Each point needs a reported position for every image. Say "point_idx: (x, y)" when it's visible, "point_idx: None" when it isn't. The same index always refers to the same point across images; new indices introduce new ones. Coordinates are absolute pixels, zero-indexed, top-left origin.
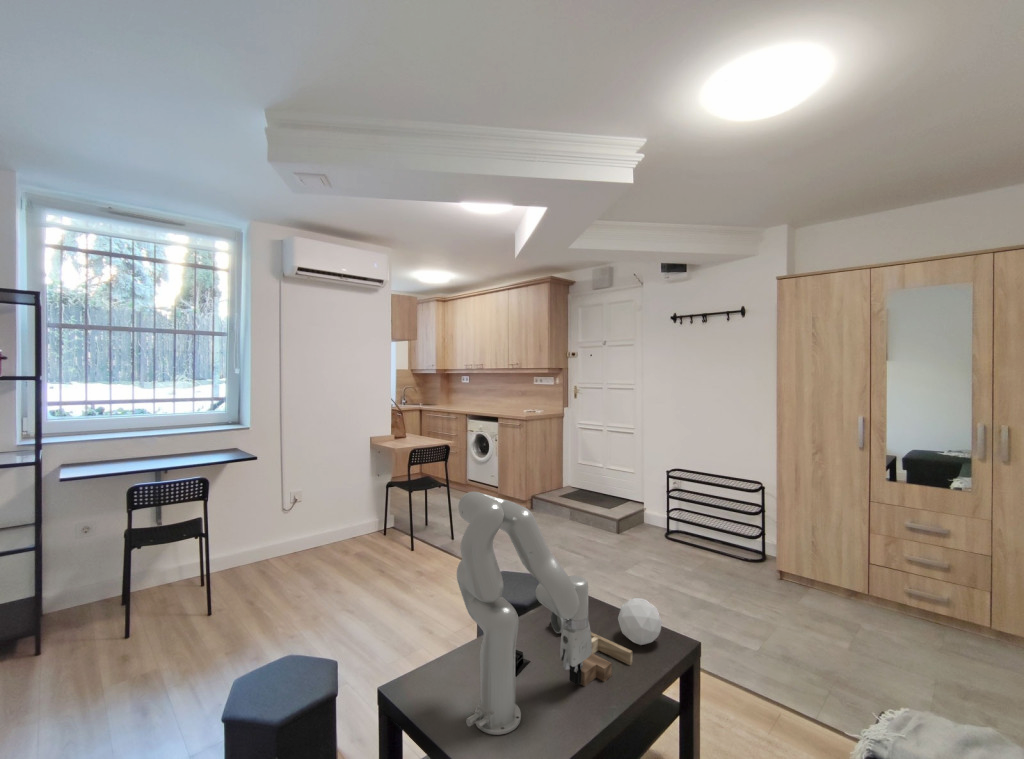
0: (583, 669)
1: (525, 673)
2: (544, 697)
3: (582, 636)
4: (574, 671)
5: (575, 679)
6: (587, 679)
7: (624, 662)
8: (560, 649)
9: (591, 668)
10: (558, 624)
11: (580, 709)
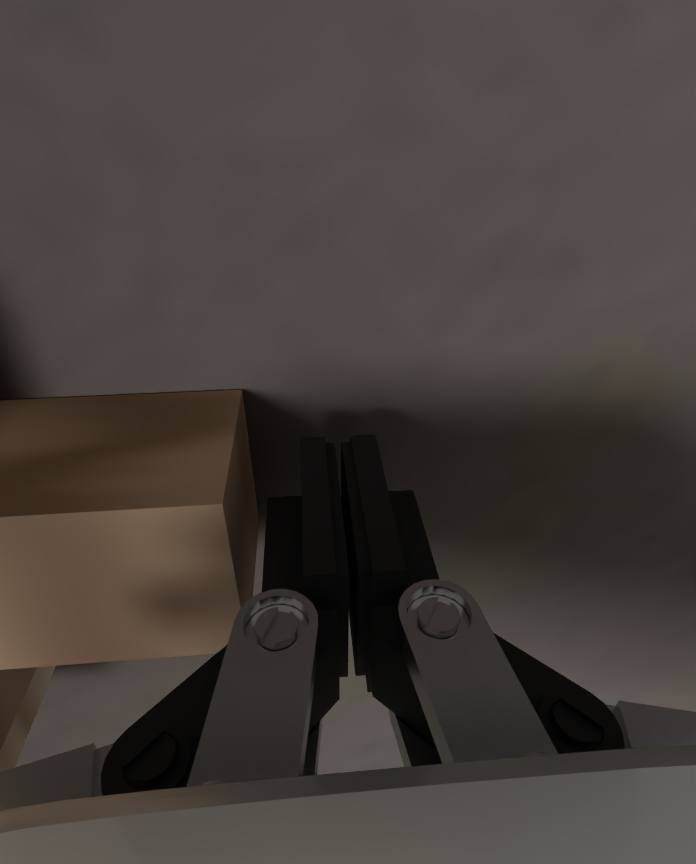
0: (166, 563)
1: None
2: (664, 530)
3: None
4: (469, 611)
5: (395, 504)
6: (166, 426)
7: None
8: None
9: (9, 510)
10: None
11: (676, 146)
